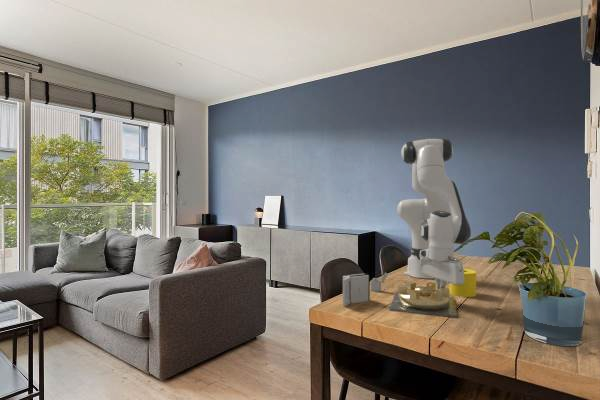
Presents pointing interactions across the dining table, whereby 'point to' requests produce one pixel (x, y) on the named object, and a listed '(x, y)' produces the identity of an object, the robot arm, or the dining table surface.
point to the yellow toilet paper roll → (465, 285)
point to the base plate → (448, 311)
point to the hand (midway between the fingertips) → (440, 290)
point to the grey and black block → (356, 288)
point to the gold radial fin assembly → (423, 296)
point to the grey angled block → (377, 283)
